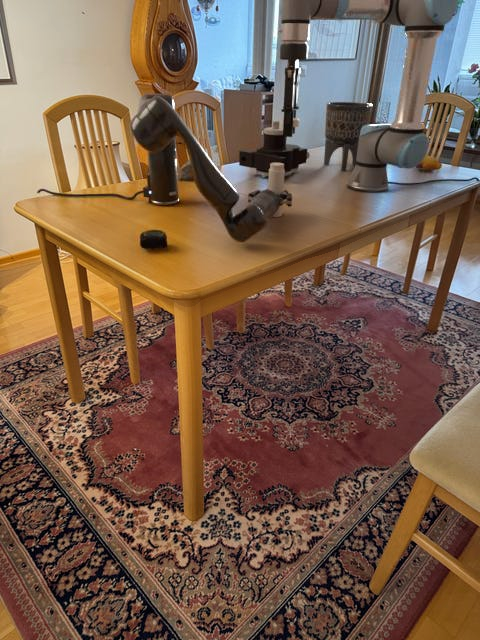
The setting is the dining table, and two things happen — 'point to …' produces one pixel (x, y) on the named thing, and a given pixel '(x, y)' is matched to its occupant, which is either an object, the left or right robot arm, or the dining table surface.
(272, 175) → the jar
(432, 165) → the toy
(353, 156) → the planter
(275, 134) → the mechanical component
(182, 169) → the rock
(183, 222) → the dining table surface
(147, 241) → the tape measure
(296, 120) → the white cylinder with groove
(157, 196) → the left robot arm
